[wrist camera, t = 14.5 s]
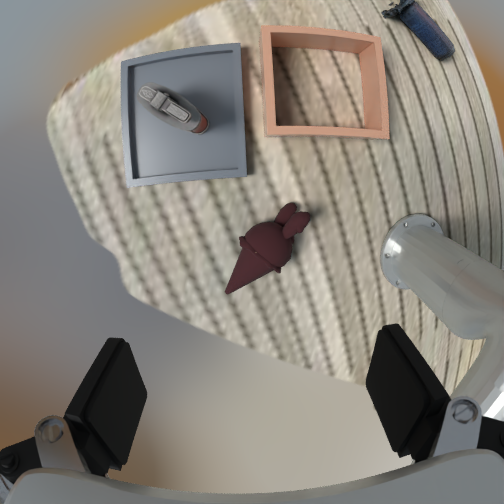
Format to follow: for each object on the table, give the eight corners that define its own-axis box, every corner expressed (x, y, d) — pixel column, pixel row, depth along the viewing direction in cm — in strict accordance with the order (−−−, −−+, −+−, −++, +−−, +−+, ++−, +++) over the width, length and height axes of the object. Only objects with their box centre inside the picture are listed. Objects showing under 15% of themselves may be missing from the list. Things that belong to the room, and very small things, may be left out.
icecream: (252, 320, 37) (331, 234, 35) (208, 295, 34) (293, 197, 31) (240, 291, 43) (307, 216, 41) (201, 267, 40) (272, 183, 37)
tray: (240, 47, 31) (240, 42, 29) (246, 175, 37) (246, 176, 35) (126, 64, 31) (121, 61, 29) (132, 185, 37) (126, 187, 35)
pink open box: (364, 48, 30) (380, 37, 25) (371, 139, 35) (389, 139, 30) (259, 41, 30) (261, 25, 25) (264, 137, 35) (267, 134, 30)
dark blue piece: (374, 17, 29) (427, 68, 32) (393, 5, 23) (452, 67, 26) (401, -10, 25) (451, 40, 28) (422, -22, 19) (476, 37, 22)
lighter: (151, 109, 32) (121, 98, 23) (166, 88, 32) (140, 70, 22) (199, 140, 34) (182, 137, 25) (215, 119, 33) (204, 108, 24)
